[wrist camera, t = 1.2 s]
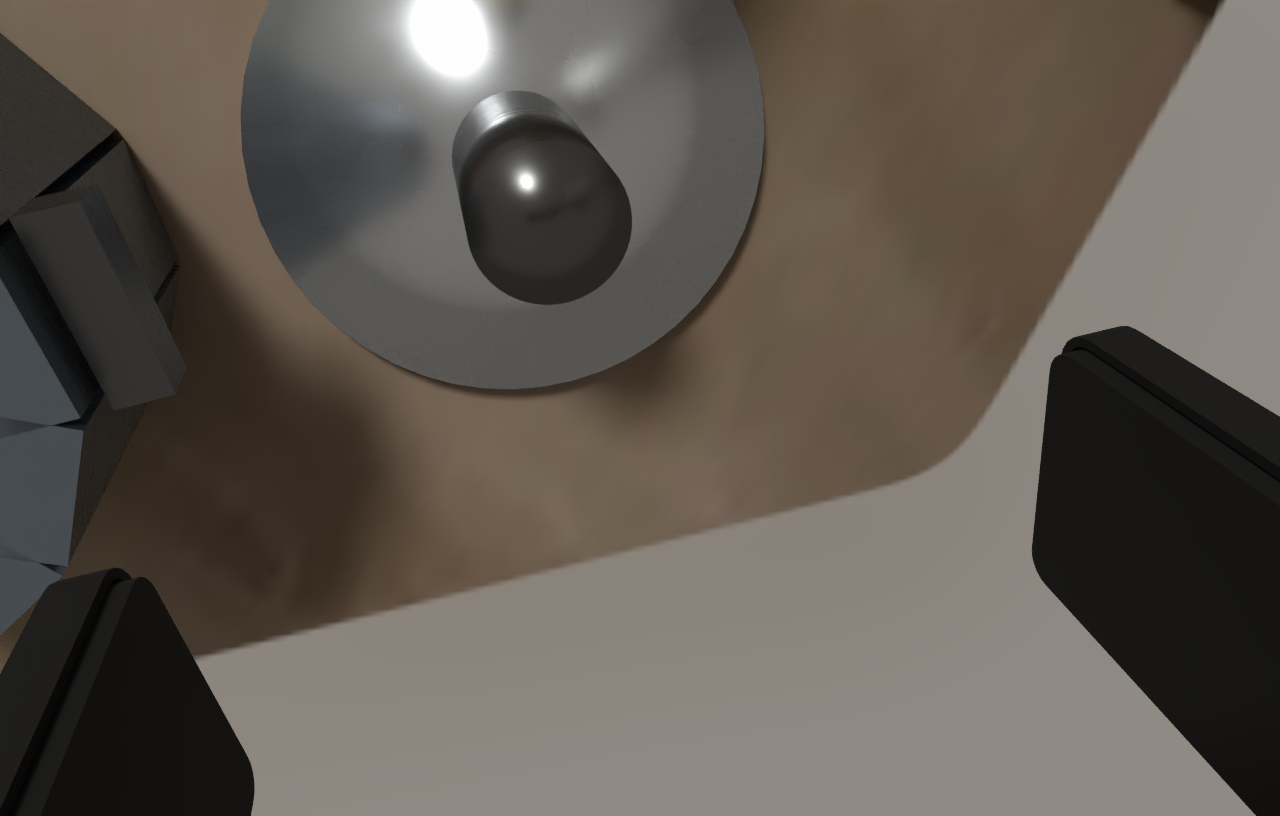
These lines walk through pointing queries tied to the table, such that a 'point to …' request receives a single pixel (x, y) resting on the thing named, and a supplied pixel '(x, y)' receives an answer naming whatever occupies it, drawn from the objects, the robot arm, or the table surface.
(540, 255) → the lid
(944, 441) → the table surface
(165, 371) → the pot
